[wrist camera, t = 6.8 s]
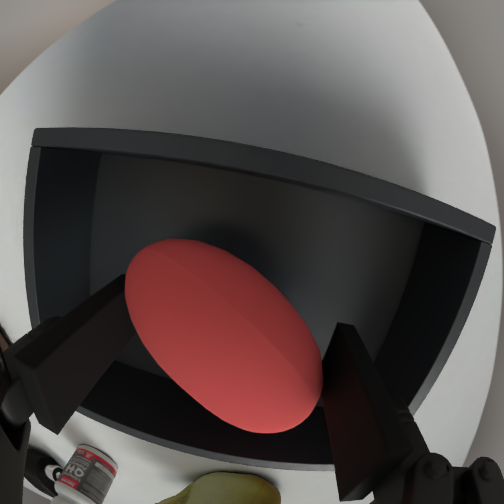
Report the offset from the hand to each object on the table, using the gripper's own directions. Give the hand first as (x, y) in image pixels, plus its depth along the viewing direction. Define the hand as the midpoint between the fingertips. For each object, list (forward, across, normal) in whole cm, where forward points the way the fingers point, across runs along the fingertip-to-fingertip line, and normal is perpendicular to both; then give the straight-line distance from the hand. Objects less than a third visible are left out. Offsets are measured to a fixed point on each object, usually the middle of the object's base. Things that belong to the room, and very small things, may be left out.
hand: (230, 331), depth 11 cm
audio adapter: (+4, -29, -42) cm, 52 cm away
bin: (+4, 0, 0) cm, 5 cm away
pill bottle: (+4, -12, -25) cm, 28 cm away
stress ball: (+1, 0, 0) cm, 1 cm away
